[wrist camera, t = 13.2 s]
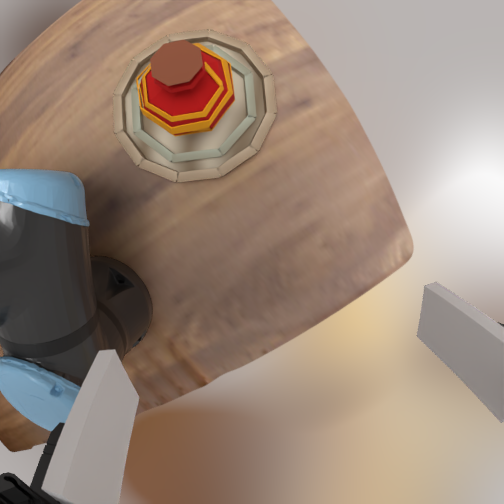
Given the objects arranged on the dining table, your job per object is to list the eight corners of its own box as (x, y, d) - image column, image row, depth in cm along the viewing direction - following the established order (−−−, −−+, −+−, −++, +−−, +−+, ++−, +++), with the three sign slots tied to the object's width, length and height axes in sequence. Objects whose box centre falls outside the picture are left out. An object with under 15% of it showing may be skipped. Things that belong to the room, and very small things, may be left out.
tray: (126, 189, 34) (120, 191, 32) (119, 53, 28) (113, 47, 25) (277, 171, 36) (281, 172, 33) (264, 35, 30) (267, 27, 27)
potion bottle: (242, 74, 30) (259, 20, 16) (222, 149, 33) (225, 136, 19) (163, 61, 29) (133, 6, 14) (142, 135, 31) (93, 117, 17)
